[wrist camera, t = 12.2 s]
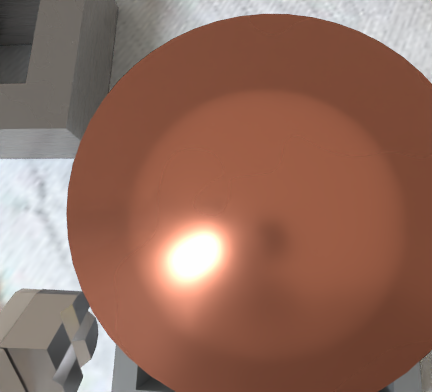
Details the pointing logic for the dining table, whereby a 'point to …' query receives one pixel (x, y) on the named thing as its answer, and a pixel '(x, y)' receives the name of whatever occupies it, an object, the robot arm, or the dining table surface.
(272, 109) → the pin
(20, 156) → the socket
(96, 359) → the dining table surface
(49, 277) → the dining table surface
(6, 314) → the robot arm
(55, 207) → the dining table surface
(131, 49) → the dining table surface
